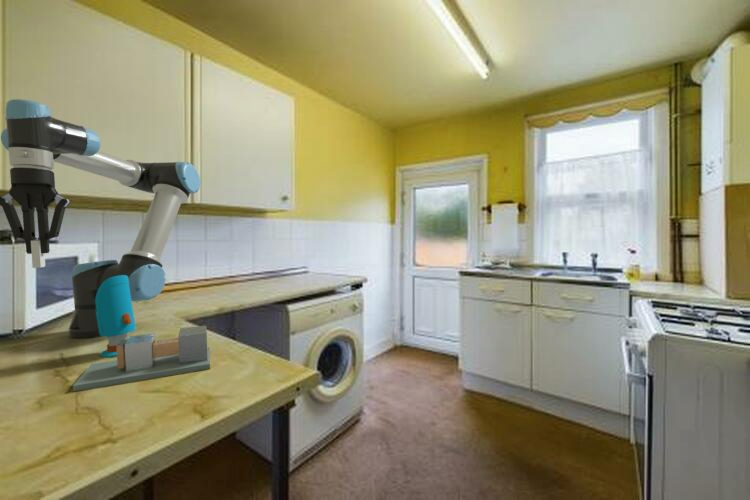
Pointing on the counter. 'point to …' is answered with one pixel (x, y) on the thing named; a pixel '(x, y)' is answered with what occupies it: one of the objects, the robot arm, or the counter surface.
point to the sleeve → (139, 352)
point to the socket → (192, 344)
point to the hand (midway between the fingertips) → (39, 267)
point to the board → (135, 372)
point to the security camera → (114, 312)
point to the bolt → (158, 350)
